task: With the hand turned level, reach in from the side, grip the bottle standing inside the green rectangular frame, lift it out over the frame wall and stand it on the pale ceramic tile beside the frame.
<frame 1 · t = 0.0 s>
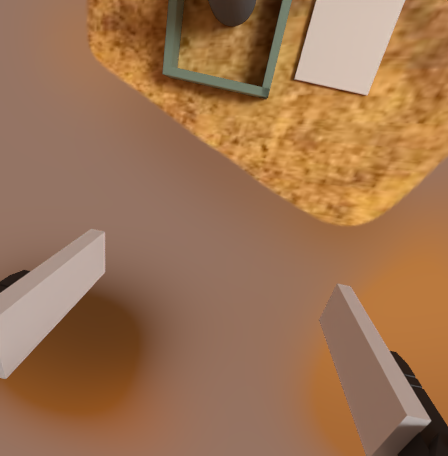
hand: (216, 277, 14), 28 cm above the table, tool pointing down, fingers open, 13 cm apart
tile: (351, 23, 31), on the table
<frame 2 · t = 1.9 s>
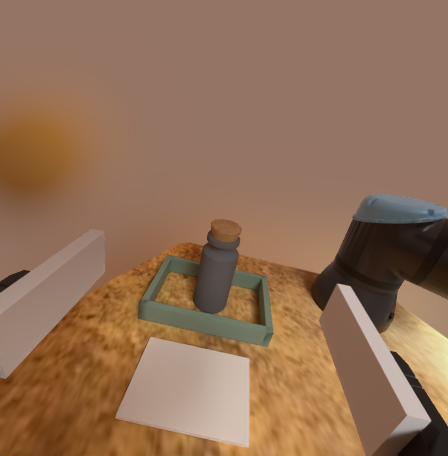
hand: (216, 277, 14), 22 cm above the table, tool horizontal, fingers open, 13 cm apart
tile: (191, 385, 30), on the table
bottle: (209, 302, 44), resting in green rectangular frame
green rectangular frame: (209, 301, 44), on the table
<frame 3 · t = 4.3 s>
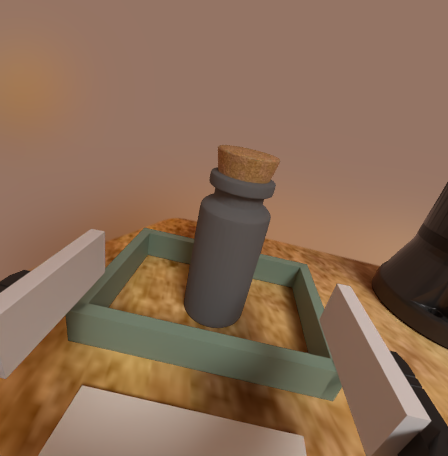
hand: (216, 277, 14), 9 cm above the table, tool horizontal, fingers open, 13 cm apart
bottle: (212, 306, 25), resting in green rectangular frame
green rectangular frame: (213, 305, 25), on the table
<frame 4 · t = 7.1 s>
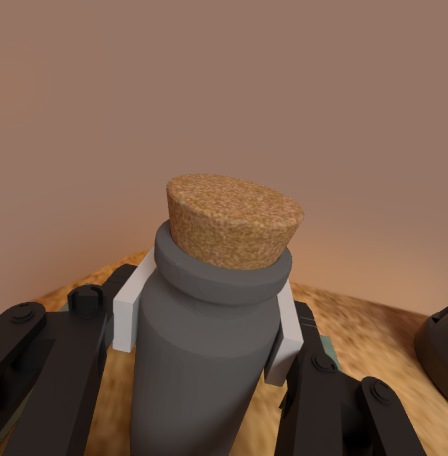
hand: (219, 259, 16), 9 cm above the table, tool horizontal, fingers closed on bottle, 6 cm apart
bottle: (181, 433, 15), resting in green rectangular frame, touching gripper
green rectangular frame: (181, 431, 15), on the table
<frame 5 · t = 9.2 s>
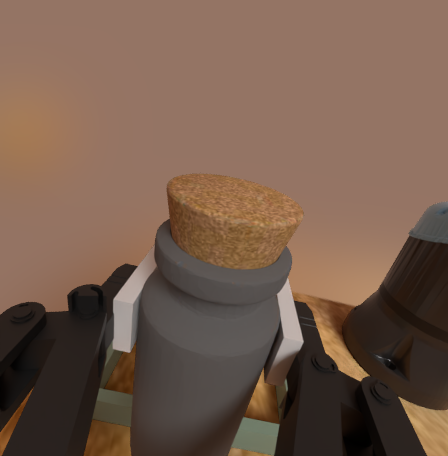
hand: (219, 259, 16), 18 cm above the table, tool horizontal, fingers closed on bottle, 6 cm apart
bottle: (181, 432, 15), point 9 cm above the table, touching gripper
green rectangular frame: (199, 366, 29), on the table
when the fingers open (11 cm above the table, at t = 11.5 s): bottle drops 1 cm, resting on tile.
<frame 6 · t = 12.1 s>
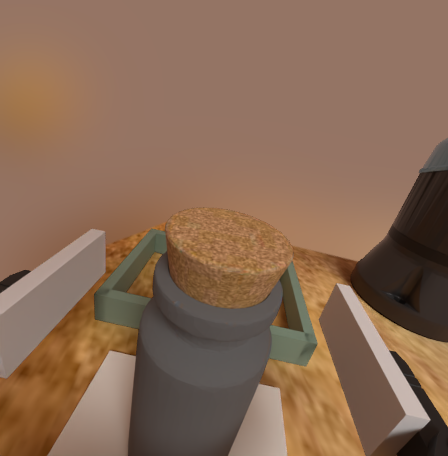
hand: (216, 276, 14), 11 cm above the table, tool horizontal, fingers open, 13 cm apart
tile: (177, 448, 16), on the table
bottle: (177, 446, 15), resting on tile
green rectangular frame: (211, 293, 29), on the table
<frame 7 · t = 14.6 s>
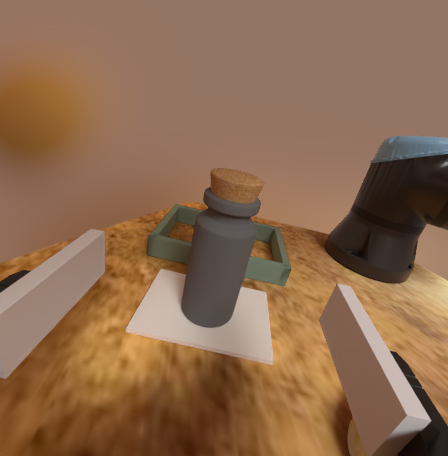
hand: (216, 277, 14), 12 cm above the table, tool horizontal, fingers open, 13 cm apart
tile: (207, 310, 28), on the table
bottle: (206, 308, 27), resting on tile
green rectangular frame: (220, 247, 41), on the table
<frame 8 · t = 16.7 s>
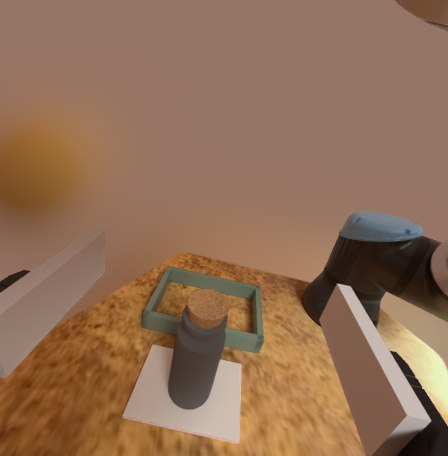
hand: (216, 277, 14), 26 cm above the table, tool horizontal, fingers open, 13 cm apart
tile: (189, 388, 34), on the table
bottle: (189, 387, 33), resting on tile
green rectangular frame: (206, 310, 47), on the table
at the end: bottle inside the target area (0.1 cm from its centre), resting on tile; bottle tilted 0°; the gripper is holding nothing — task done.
